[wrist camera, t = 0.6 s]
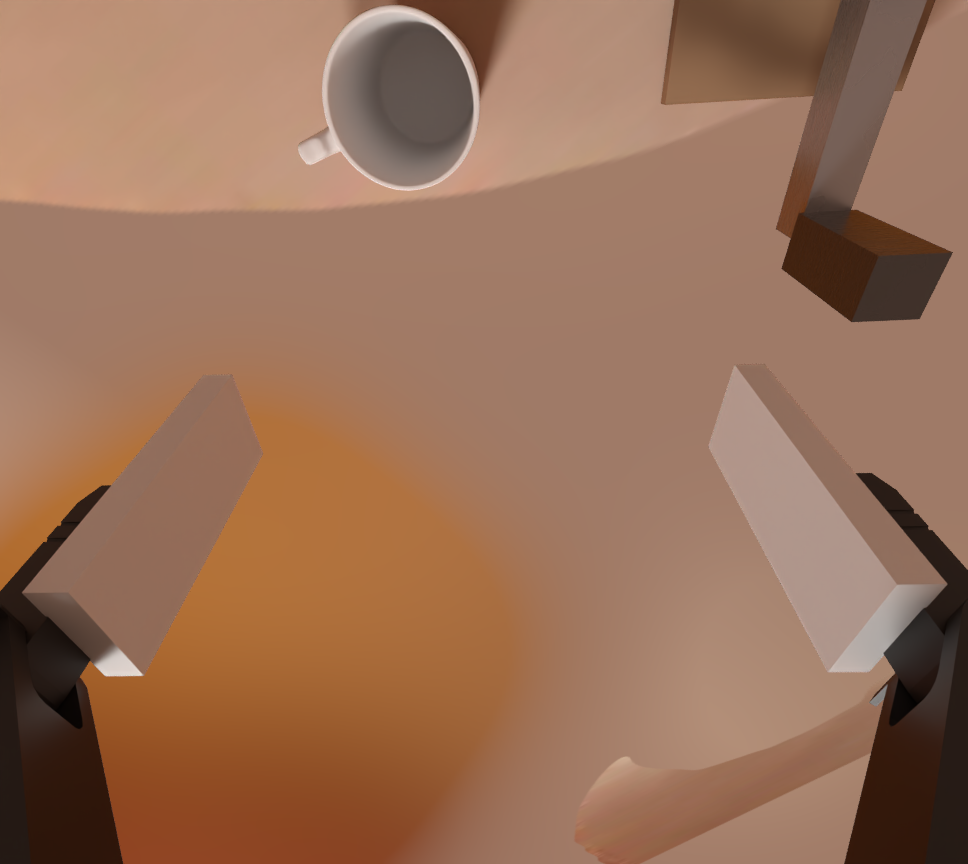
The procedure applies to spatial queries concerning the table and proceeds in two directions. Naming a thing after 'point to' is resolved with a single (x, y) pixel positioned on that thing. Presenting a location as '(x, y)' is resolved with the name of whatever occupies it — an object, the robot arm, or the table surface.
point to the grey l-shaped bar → (855, 175)
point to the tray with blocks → (753, 49)
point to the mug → (398, 99)
